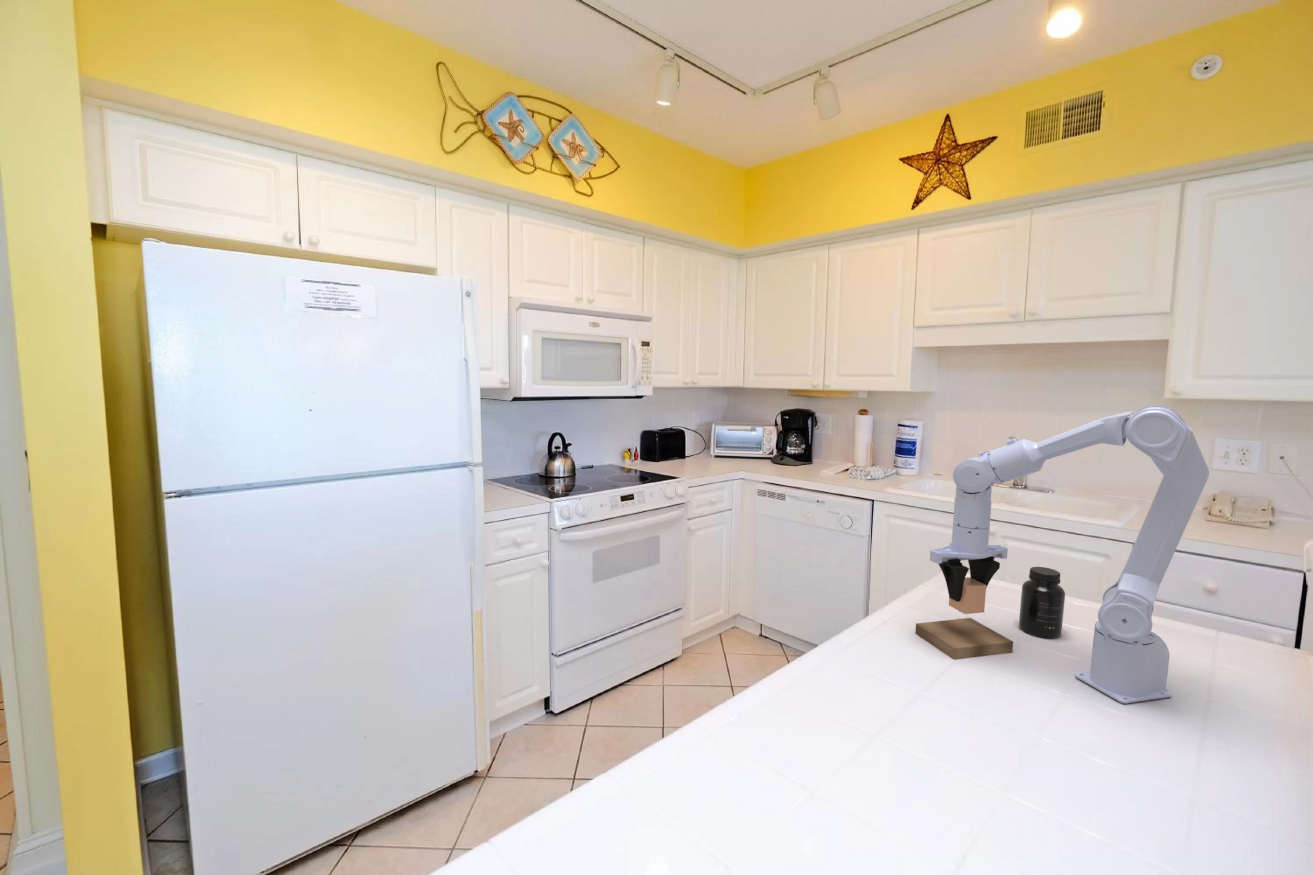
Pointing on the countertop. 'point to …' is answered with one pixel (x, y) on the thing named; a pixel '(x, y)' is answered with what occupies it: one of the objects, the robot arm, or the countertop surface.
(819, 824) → the countertop surface
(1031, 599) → the supplement bottle
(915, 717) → the countertop surface
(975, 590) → the terracotta block
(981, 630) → the walnut board
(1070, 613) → the countertop surface
